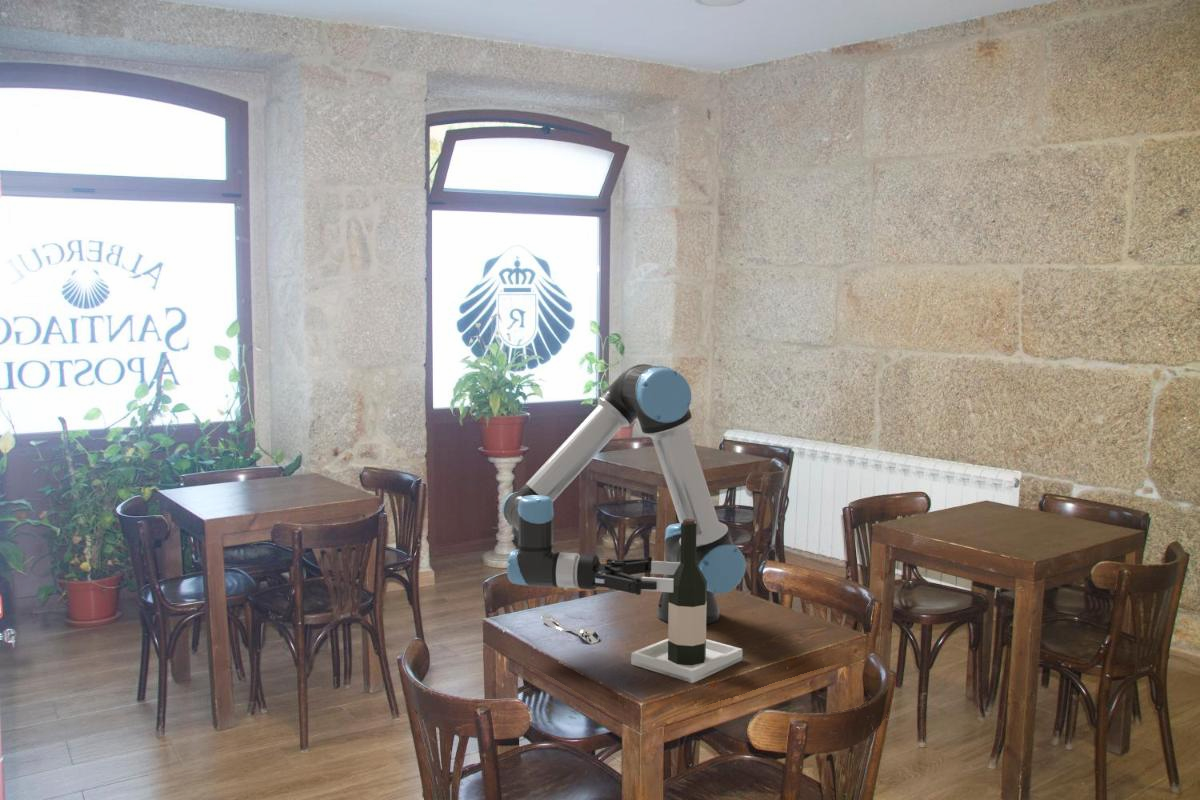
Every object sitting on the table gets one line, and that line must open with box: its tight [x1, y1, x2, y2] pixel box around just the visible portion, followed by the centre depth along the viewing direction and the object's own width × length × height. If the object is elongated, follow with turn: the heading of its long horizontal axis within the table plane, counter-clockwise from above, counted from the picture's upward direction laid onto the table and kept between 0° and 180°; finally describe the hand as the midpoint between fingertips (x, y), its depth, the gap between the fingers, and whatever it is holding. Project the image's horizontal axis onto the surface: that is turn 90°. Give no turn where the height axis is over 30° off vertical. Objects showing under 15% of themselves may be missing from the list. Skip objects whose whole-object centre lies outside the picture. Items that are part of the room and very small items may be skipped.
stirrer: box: [541, 613, 600, 645], centre depth 236 cm, size 20×4×5 cm
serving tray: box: [630, 638, 743, 684], centre depth 216 cm, size 18×16×2 cm
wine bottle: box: [667, 519, 707, 665], centre depth 215 cm, size 8×8×30 cm
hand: (677, 577), depth 215 cm, fingers open, 13 cm apart
